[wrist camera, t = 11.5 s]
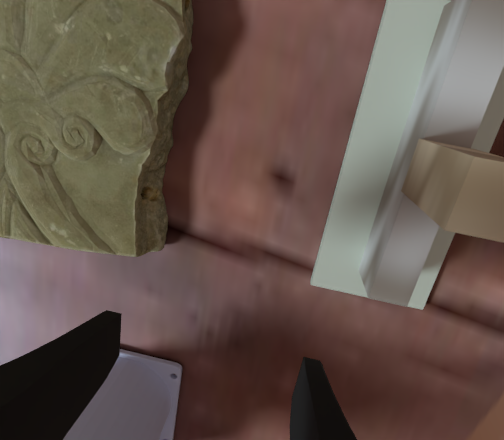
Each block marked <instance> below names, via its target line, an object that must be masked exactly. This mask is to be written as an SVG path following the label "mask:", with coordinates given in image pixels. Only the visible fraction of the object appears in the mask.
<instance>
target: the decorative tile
mask: <svg viewBox="0 0 504 440" xmlns="http://www.w3.org/2000/svg"><path fill="white" fill-rule="evenodd" d="M192 25H193V8H192V0H0V237H3V238H11V239H17V240H22V241H27V242H32V243H38V244H44V245H50V246H55V247H61V248H67V249H72V250H78V251H87V252H96V253H104V254H115V255H123V256H132V257H138V256H141V255H144V254H146V253H147V252H155V251H160V250H162V249H163V248H164V245H165V241H166V233H167V230H168V215H167V213H166V205H165V200H164V196H163V194H162V187H163V181H162V180H163V177H164V173H165V164H166V163H167V156H168V154H169V152H170V149H171V148H172V146H173V137H172V127H173V118H174V115H175V112H176V109H177V108H178V106H179V104H180V102H181V100H182V99H183V97H184V96H185V94H186V92H187V90H188V84H189V81H188V80H189V78H188V71H187V60H188V57H189V54H190V52H191V51H192V45H191V36H192Z"/></svg>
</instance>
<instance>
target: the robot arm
mask: <svg viewBox="0 0 504 440" xmlns="http://www.w3.org/2000/svg"><path fill="white" fill-rule="evenodd" d="M120 332H121V314H120V313H116V312H112V311H107V310H106V311H104V312H102V313H101V314H99V315H97V316H95V317H94V318H92V319H90V320H89V321H87V322H85V323H83V324H82V325H80V326H78V327H76V328H75V329H73V330H71V331H69V332H68V333H66V334H64V335H62V336H60V337H59V338H57V339H55V340H53V341H51V342H49V343H47V344H45V345H43V346H41V347H39V348H37V349H35V350H33V351H31V352H29V353H27V354H25V355H23V356H21V357H19V358H17V359H15V360H12V361H10V362H8V363H5V364H3V365H1V366H0V440H173V437H174V429H175V422H176V414H177V406H178V399H179V391H180V383H181V376H182V366H181V365H180V364H179V363H176V362H172V361H168V360H164V359H160V358H156V357H151V356H147V355H143V354H139V353H135V352H131V351H127V350H123V349H120ZM174 374H176V375H174ZM290 440H357V439H356V437H355V435H354V433H353V431H352V430H351V428H350V426H349V424H348V422H347V420H346V418H345V416H344V414H343V412H342V410H341V408H340V406H339V404H338V402H337V400H336V397H335V395H334V393H333V391H332V388H331V386H330V383H329V381H328V379H327V376H326V373H325V371H324V368H323V365H322V363H321V362H320V361H319V360H315V359H310V358H306V357H304V358H303V361H302V365H301V368H300V372H299V375H298V379H297V382H296V385H295V389H294V392H293V396H292V404H291V417H290Z"/></svg>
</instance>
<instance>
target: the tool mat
mask: <svg viewBox="0 0 504 440" xmlns="http://www.w3.org/2000/svg"><path fill="white" fill-rule="evenodd" d="M449 2H451V0H387V1H386V4H385V8H384V12H383V15H382V19H381V23H380V26H379V30H378V34H377V38H376V41H375V45H374V49H373V52H372V56H371V60H370V63H369V67H368V71H367V74H366V78H365V82H364V85H363V89H362V93H361V97H360V100H359V104H358V108H357V111H356V115H355V119H354V122H353V126H352V130H351V133H350V137H349V141H348V144H347V148H346V152H345V155H344V159H343V163H342V167H341V170H340V174H339V178H338V181H337V185H336V189H335V192H334V196H333V200H332V203H331V207H330V211H329V214H328V218H327V222H326V226H325V229H324V233H323V237H322V240H321V244H320V248H319V251H318V255H317V259H316V262H315V266H314V270H313V273H312V277H311V285H314V286H318V287H323V288H327V289H332V290H336V291H341V292H345V293H350V294H354V295H359V296H363V297H368V296H367V293H366V290H365V287H364V284H363V281H362V278H361V276H360V273H359V270H358V269H359V266H360V263H361V260H362V257H363V253H364V250H365V247H366V244H367V241H368V238H369V235H370V232H371V229H372V226H373V223H374V220H375V217H376V213H377V210H378V207H379V204H380V201H381V198H382V195H383V192H384V189H385V186H386V183H387V180H388V177H389V173H390V170H391V167H392V164H393V161H394V158H395V155H396V152H397V149H398V146H399V143H400V140H401V137H402V133H403V130H404V127H405V124H406V121H407V118H408V115H409V112H410V109H411V106H412V103H413V100H414V97H415V93H416V90H417V87H418V84H419V81H420V78H421V75H422V72H423V69H424V66H425V63H426V60H427V57H428V53H429V50H430V47H431V44H432V41H433V38H434V35H435V32H436V29H437V26H438V23H439V20H440V16H441V13H442V10H443V7H444V5H446V4H447V3H449ZM503 119H504V66H503V69H502V71H501V74H500V76H499V79H498V81H497V84H496V86H495V89H494V91H493V94H492V96H491V99H490V101H489V104H488V106H487V109H486V111H485V114H484V116H483V119H482V121H481V124H480V126H479V129H478V131H477V134H476V136H475V139H474V141H473V144H472V146H471V149H476V150H480V151H483V152H487V153H489V152H490V149H491V147H492V145H493V142H494V140H495V138H496V135H497V133H498V130H499V128H500V126H501V123H502V121H503ZM454 235H455V232H450V231H445V230H443V229H442V228H441V227H440V226H439V228H438V231H437V233H436V236H435V238H434V241H433V243H432V246H431V248H430V251H429V253H428V256H427V258H426V261H425V263H424V266H423V268H422V271H421V273H420V276H419V278H418V281H417V283H416V286H415V288H414V291H413V293H412V296H411V298H410V301H409V303H408V307H413V308H417V309H422V310H423V308H424V306H425V303H426V301H427V299H428V296H429V294H430V292H431V289H432V287H433V284H434V282H435V280H436V277H437V275H438V273H439V270H440V268H441V265H442V263H443V261H444V258H445V256H446V254H447V251H448V249H449V247H450V244H451V242H452V239H453V237H454Z"/></svg>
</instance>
